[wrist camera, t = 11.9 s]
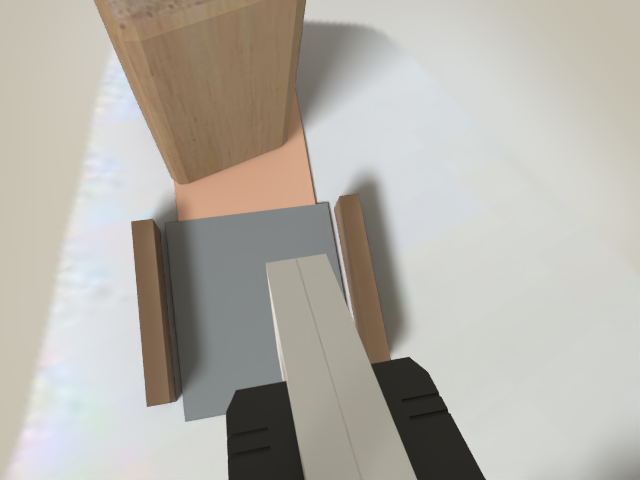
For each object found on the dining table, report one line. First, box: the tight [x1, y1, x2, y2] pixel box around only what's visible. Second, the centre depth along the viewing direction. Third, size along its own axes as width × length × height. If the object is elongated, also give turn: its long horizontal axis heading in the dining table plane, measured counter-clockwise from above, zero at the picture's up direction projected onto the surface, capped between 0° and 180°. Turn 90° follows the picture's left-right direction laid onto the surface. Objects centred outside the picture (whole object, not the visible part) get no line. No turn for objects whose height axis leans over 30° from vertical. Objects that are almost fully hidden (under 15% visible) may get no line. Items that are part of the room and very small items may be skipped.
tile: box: [174, 88, 315, 221], centre depth 44 cm, size 11×12×1 cm
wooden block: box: [94, 0, 306, 185], centre depth 34 cm, size 10×10×20 cm
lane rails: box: [131, 194, 391, 407], centre depth 39 cm, size 17×13×3 cm
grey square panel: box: [165, 203, 345, 422], centre depth 41 cm, size 13×15×1 cm
